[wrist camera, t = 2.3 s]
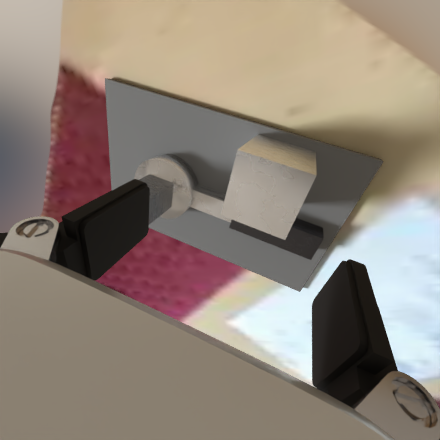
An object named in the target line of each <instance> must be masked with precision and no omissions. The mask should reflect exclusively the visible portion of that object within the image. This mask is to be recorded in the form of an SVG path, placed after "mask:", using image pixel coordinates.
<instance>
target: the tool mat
mask: <svg viewBox="0 0 440 440" xmlns="http://www.w3.org/2000/svg"><path fill="white" fill-rule="evenodd" d="M105 89H106V105H107V121H108V138H109V154H110V170H111V187H112V190H114V189H116V188H118V187H120V186H122V185H123V184H125V183H127V182H129V181H131V180H133V179H134V177H135V172H136V170H137V168H138V167H139V165H140V164H141V163H143V162H144V161H147V160H149V159H151V158H154V157H156V156H159V155H162V154H171V155H175V156H177V157H179V158H181V159H183V160H184V161H185V162H186V163H187V164H188V165H189V166H190V167H191V168H192V170H193V171H194V173H195V175H196V178H197V181H198V185H201V186H203V187H206V188H209V189H212V190H214V191H217V192H220V193H222V194H225V195H226V192H227V189H228V185H229V181H230V177H231V173H232V169H233V165H234V161H235V158H236V154H237V150H238V149H239V148H240V147H242V146H243V145H244V144H246V143H247V142H248V141H250V140H251V139H252V138H254V137H255V136H256V135H258V134H260V135H263V136H266V137H269V138H273V139H276V140H279V141H282V142H286V143H289V144H292V145H295V146H299V147H302V148H305V149H308V150H312V151H315V152H316V172H317V176H316V178H315V180H314V182H313V184H312V186H311V188H310V190H309V192H308V194H307V196H306V198H305V200H304V202H303V204H302V207H301V209H300V211H299V213H298V215H297V217H296V218H298V219H301V220H303V221H306V222H309V223H311V224H314V225H317V226H320V227H322V228H323V236H324V240H323V241H322V243H321V244H320V246H319V248H318V249H317V251H316V253H315V254H314V256H313V258H312V259H311V260H309V259H307V258H304V257H302V256H299V255H297V254H294V253H292V252H289V251H286V250H284V249H281V248H279V247H276V246H274V245H271V244H269V243H266V242H264V241H261V240H259V239H256V238H254V237H251V236H249V235H246V234H243V233H241V232H238V231H236V230H233V229H231V228H229V226H230V222H228V221H225V220H223V219H220V218H217V217H215V216H212V215H210V214H207V213H205V212H202V211H199V210H197V209H194V208H192V207H190V208H188V209H187V210H186V211H185V212H184V213H183V214H182V215H181V216H179V217H177V218H173V219H166V218H162V217H158V218H157V219H156V220H155V221H153V222H152V223H151V224H150V225H149V228H151V229H153V230H156V231H158V232H160V233H163V234H165V235H167V236H170V237H172V238H175V239H177V240H179V241H182V242H184V243H186V244H189V245H191V246H193V247H196V248H198V249H200V250H203V251H205V252H208V253H210V254H212V255H215V256H217V257H219V258H222V259H224V260H226V261H229V262H231V263H233V264H236V265H238V266H240V267H243V268H245V269H248V270H250V271H252V272H255V273H257V274H259V275H262V276H264V277H266V278H269V279H271V280H273V281H276V282H278V283H281V284H283V285H285V286H288V287H290V288H292V289H295V290H297V291H299V292H300V291H301V289H302V288H303V286H304V285H305V283H306V282H307V280H308V279H309V277H310V275H311V274H312V272H313V271H314V269H315V268H316V266H317V264H318V263H319V261H320V260H321V258H322V257H323V255H324V254H325V252H326V250H327V249H328V247H329V246H330V244H331V243H332V241H333V240H334V238H335V236H336V235H337V233H338V232H339V230H340V229H341V227H342V226H343V224H344V222H345V221H346V219H347V218H348V216H349V215H350V213H351V212H352V210H353V208H354V207H355V205H356V204H357V202H358V201H359V199H360V197H361V196H362V194H363V193H364V191H365V190H366V188H367V187H368V185H369V183H370V182H371V180H372V179H373V177H374V176H375V174H376V173H377V171H378V169H379V168H380V166H381V165H382V163H383V161H382V160H381V159H378V158H374V157H371V156H368V155H364V154H361V153H358V152H354V151H351V150H348V149H344V148H341V147H338V146H334V145H331V144H327V143H324V142H321V141H317V140H314V139H311V138H307V137H304V136H301V135H297V134H294V133H290V132H287V131H284V130H280V129H277V128H274V127H270V126H267V125H264V124H260V123H257V122H254V121H250V120H247V119H243V118H240V117H237V116H233V115H230V114H227V113H223V112H220V111H217V110H213V109H210V108H207V107H203V106H200V105H196V104H193V103H190V102H186V101H183V100H180V99H176V98H173V97H170V96H166V95H163V94H160V93H156V92H153V91H149V90H146V89H143V88H139V87H136V86H133V85H129V84H126V83H123V82H119V81H116V80H113V79H105Z"/></svg>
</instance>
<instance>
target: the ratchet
mask: <svg viewBox="0 0 440 440" xmlns="http://www.w3.org/2000/svg"><path fill="white" fill-rule="evenodd" d="M134 179H137V180H140V181H142V182H145V183H147V186H148V187H149V188H150V199H149V225H150V224H151V223H152V222H153V221H155V220H156V219H157V218H158V217H162V218H166V219H173V218H177V217H179V216H181V215H182V214H183V213H184V212H185V211H186V210H187V209H188V208H190V207H192V208H194V209H197V210H199V211H202V212H205V213H207V214H210V215H212V216H215V217H217V218H220V219H223V220H225V221H228V222H230V226H229V228H231V229H233V230H236V231H238V232H241V233H243V234H246V235H249V236H251V237H254V238H256V239H259V240H261V241H264V242H266V243H269V244H271V245H274V246H276V247H279V248H281V249H284V250H286V251H289V252H292V253H294V254H297V255H299V256H302V257H304V258H307V259H309V260H311V259H312V258H313V256H314V254H315V253H316V251H317V249H318V248H319V246H320V244H321V243H322V241H323V240H324V236H323V228H322V227H320V226H317V225H314V224H311V223H309V222H306V221H303V220H301V219H298V218H296V219H295V221H294V223H293V225H292V227H291V229H290V231H289V233H288V235H287V237H286V239H285V240H284V239H281V238H278V237H276V236H273V235H271V234H268V233H266V232H263V231H260V230H258V229H255V228H253V227H250V226H247V225H245V224H242V223H240V222H237V221H235V220H232V219H229V218H227V217H224V216H222V215H221V212H222V208H223V204H224V200H225V196H226V195H225V194H222V193H220V192H217V191H214V190H212V189H209V188H206V187H203V186H201V185H198V181H197V178H196V175H195V173H194V171H193V170H192V168H191V167H190V166H189V165H188V164H187V163H186V162H185V161H184V160H183V159H181V158H179V157H177V156H175V155H171V154H162V155H159V156H156V157H154V158H151V159H149V160H147V161H144V162H143V163H141V164H140V165H139V167H138V168H137V170H136V172H135V177H134Z"/></svg>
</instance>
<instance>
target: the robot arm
mask: <svg viewBox="0 0 440 440" xmlns="http://www.w3.org/2000/svg"><path fill="white" fill-rule="evenodd" d="M149 199H150V188H149V187H148V186H147V183H145V182H142V181H140V180H137V179H133V180H131V181H129V182H127V183H125V184H123V185H122V186H120V187H118V188H116V189H114V190H112V191H110V192H108V193H106V194H104V195H102V196H100V197H98V198H97V199H95V200H93V201H91V202H89V203H87V204H85V205H83V206H81V207H79V208H77V209H75V210H73V211H72V212H70V213H68V214H66V215H64V216H62V220H63V221H62V222H60V223H58V222H57V221H56V220H55V219H53V218H50V217H32V218H28V219H24V220H22V221H20V222H18V223H16V224H15V225H14V226H13V227H12V228H11V229H10V231H9V233H0V440H440V409H439V406H438V405H437V403H436V402H435V400H434V399H433V397H432V396H431V395H430V393H429V392H428V391H427V390H426V389H425V388H424V387H423V386H422V385H421V384H420V383H419V382H417V381H416V380H415V379H414V378H412V377H410V376H409V375H407V374H405V373H402V372H399V371H398V370H397V367H396V363H395V360H394V357H393V353H392V350H391V347H390V344H389V340H388V337H387V334H386V330H385V327H384V324H383V321H382V317H381V314H380V311H379V308H378V306H377V302H376V299H375V296H374V292H373V289H372V286H371V283H370V279H369V276H368V273H367V269H366V266H365V265H364V264H361V263H358V262H356V261H353V260H348V261H347V262H346V261H342V262H341V263H340V265H339V266H338V267H337V269H336V270H335V271H334V273H333V274H332V276H331V277H330V278H329V280H328V281H327V282H326V284H325V285H324V286H323V288H322V289H321V291H320V292H319V293H318V295H317V296H316V297H315V299H314V301H313V304H312V382H313V385H314V386H315V387H317V389H316V388H315V387H313V386H311V385H309V384H307V383H305V382H303V381H301V380H299V379H297V378H295V377H293V376H291V375H289V374H287V373H285V372H283V371H281V370H279V369H277V368H275V367H273V366H271V365H269V364H267V363H265V362H262V361H260V360H258V359H256V358H254V357H252V356H250V355H248V354H246V353H244V352H242V351H240V350H238V349H236V348H234V347H232V346H230V345H228V344H225V343H223V342H221V341H219V340H217V339H215V338H213V337H211V336H209V335H207V334H205V333H203V332H201V331H199V330H196V329H194V328H192V327H190V326H188V325H186V324H184V323H182V322H180V321H178V320H176V319H174V318H172V317H169V316H167V315H165V314H163V313H161V312H159V311H157V310H155V309H153V308H151V307H149V306H146V305H144V304H142V303H140V302H138V301H136V300H134V299H132V298H130V297H127V296H125V295H123V294H121V293H119V292H117V291H115V290H113V289H111V288H108V287H106V286H104V285H102V284H100V283H98V282H96V281H94V280H97V279H98V278H100V277H101V276H102V275H103V274H104V273H105V272H106V271H107V270H109V269H110V268H111V267H112V266H113V265H114V264H115V263H116V262H117V261H119V260H120V259H121V258H122V257H123V256H124V255H125V254H126V253H127V252H129V251H130V250H131V249H132V248H133V247H134V246H135V245H136V244H137V243H139V242H140V241H141V240H142V239H143V238H144V237H145V236H146V235H147V233H148V228H149Z"/></svg>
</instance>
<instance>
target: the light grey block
mask: <svg viewBox="0 0 440 440" xmlns="http://www.w3.org/2000/svg"><path fill="white" fill-rule="evenodd" d="M316 176H317V172H316V152H315V151H312V150H308V149H305V148H302V147H299V146H295V145H292V144H289V143H286V142H282V141H279V140H276V139H273V138H269V137H266V136H263V135H260V134H258V135H256V136H255V137H254V138H252V139H251V140H250V141H248V142H247V143H246V144H244V145H243V146H242V147H240V148H239V149H238V150H237V154H236V158H235V161H234V165H233V169H232V173H231V177H230V181H229V185H228V189H227V192H226V196H225V200H224V204H223V208H222V212H221V215H222V216H224V217H227V218H229V219H232V220H235V221H237V222H240V223H242V224H245V225H247V226H250V227H253V228H255V229H258V230H260V231H263V232H266V233H268V234H271V235H273V236H276V237H278V238H281V239H284V240H285V239H286V237H287V235H288V233H289V231H290V229H291V227H292V225H293V223H294V221H295V219H296V217H297V215H298V213H299V211H300V209H301V207H302V204H303V202H304V200H305V198H306V196H307V194H308V192H309V190H310V188H311V186H312V184H313V182H314V180H315V178H316Z"/></svg>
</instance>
